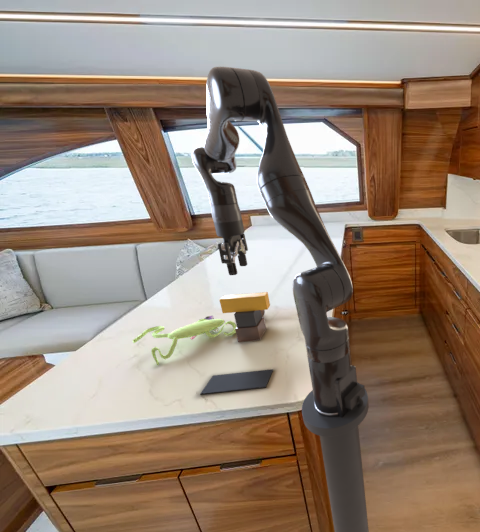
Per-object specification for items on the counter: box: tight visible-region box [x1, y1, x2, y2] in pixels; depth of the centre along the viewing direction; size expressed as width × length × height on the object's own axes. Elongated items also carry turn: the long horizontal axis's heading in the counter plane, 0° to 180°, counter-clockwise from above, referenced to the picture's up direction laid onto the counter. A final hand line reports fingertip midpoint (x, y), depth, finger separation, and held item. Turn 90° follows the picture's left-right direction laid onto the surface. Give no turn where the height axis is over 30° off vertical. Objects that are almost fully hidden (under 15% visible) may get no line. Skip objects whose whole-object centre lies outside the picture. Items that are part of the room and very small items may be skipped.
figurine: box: [132, 315, 237, 366], centre depth 99 cm, size 18×27×6 cm
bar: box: [218, 291, 271, 314], centre depth 98 cm, size 14×3×5 cm, turn 97°
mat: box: [199, 368, 274, 396], centre depth 80 cm, size 16×7×1 cm, turn 97°
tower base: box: [235, 316, 267, 343], centre depth 101 cm, size 7×7×5 cm
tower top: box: [233, 310, 262, 328], centre depth 99 cm, size 6×6×5 cm
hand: (238, 270), depth 94 cm, fingers open, 8 cm apart
